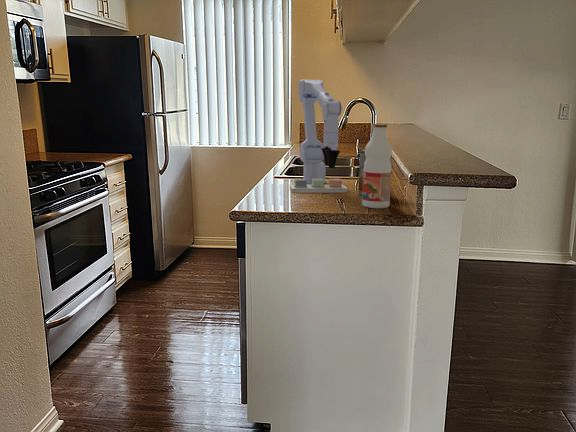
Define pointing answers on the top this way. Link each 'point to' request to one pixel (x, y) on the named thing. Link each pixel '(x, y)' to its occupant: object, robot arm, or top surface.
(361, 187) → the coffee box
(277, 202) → the top surface
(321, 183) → the key sage
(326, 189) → the keypad
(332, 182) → the key terracotta
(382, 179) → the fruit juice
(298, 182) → the key slate
